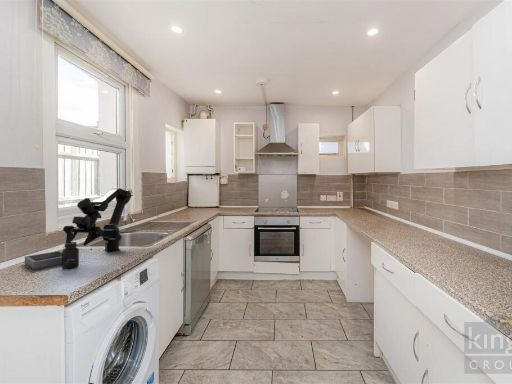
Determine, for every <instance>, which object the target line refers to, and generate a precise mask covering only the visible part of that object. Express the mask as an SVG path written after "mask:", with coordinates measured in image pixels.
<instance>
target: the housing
mask: <svg viewBox="0 0 512 384" xmlns="http://www.w3.org/2000/svg"><path fill="white" fill-rule="evenodd" d="M24 265H25V266H26V267H28V268H29V269H31V270H32V271H39V270H44V269H48V268H54V267H55V268H56V267H59V266H62V250H57V251H55V250H54V251H51V252H49V251H48V252H44V253H38V254H32V255H31V254H30V255H25V256H24Z"/></svg>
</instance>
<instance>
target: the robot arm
mask: <svg viewBox="0 0 512 384" xmlns="http://www.w3.org/2000/svg"><path fill="white" fill-rule="evenodd" d="M131 198H132V193H131V192H130V190H127V189H123V188H120V187H112V188H111V189H110V191H108V192H107V193H105V195H103V196H102V197H101V198H96V199H94V200H92V201H91V199H90V198H89V197H87V198H84V199H82V200H80V201H78V202H77V203H76V204H77V205H76V207H77V208H78V209H79V210H80V211H81V213H82V214H83V215H85V216H73V218H72V221H71V222H72V224H75V226H74V225H65V226H64V227H63V228H62V231H63V232H64V233H65V234H66V240H65V243H67V242H73V240H74V239H75V238H76V235H78V233H80V234H88V235H87V236H86V238H85V240H84V241H83V244H82V246H83V247H85V246H87V245H89V244H90V243H91V242H93V241H95V240H96V239H100V238H101V237H102V239H103V241H105V243H104V247H105V248H104V251H105V252H109V253H111V252H116V251H120V250H121V248H120V241H121V240H122V234H121V233H120V228H119V224H120V220H121V217H122V215H123V212H124V209H125V206H126V205H127V204H128V203H129V202H130V200H131ZM114 199H115V200H116V203H115V206H114V209H113V212H112V215H111V217H110V220H109V223H108V224H107V223H106V224H104V226H103V229H102V228H101V226H97V224H96V222H97V221H98V219H102V218H103V217H102V214H101V213H100V212H105V211H106V210H107V209H108V207H109V204H110V203H111V202H112V201H114ZM75 227H77V228H75Z"/></svg>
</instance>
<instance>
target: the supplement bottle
mask: <svg viewBox="0 0 512 384" xmlns="http://www.w3.org/2000/svg"><path fill="white" fill-rule="evenodd" d="M77 246H78V243H77V242H76V241H71V242H67V243H66V242H65V243H64V248H63V249H62V250H61V251H62V265H61V268H62V269H63V270H73V269H77V268H78V267H79V266H80V249H79V248H78V247H77Z"/></svg>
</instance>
